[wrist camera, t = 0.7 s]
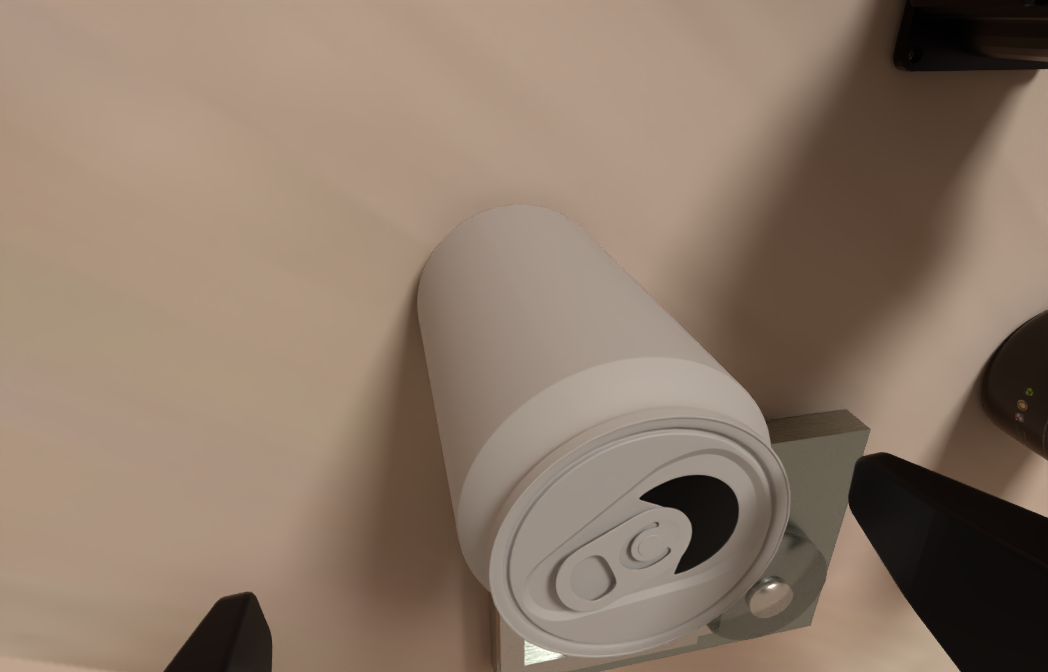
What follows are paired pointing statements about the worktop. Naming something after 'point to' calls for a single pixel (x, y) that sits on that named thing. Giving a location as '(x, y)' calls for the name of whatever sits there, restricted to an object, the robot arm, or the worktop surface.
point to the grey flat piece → (789, 580)
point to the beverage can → (590, 442)
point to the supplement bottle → (1021, 386)
